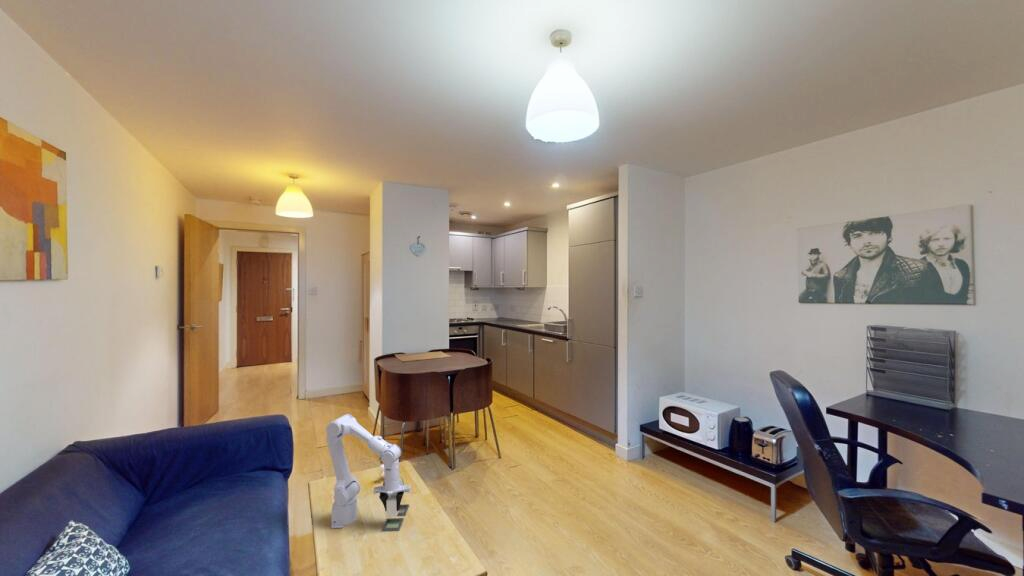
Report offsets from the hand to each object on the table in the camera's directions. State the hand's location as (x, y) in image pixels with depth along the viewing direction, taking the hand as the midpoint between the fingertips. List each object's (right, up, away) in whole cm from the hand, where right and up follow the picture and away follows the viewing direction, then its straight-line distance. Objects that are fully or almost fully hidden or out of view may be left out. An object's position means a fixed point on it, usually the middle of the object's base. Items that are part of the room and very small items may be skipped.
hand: (392, 509), depth 160 cm
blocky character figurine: (-13, -7, +38) cm, 41 cm away
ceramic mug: (-8, -7, +27) cm, 29 cm away
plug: (0, -2, 0) cm, 2 cm away
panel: (0, -8, +5) cm, 9 cm away
